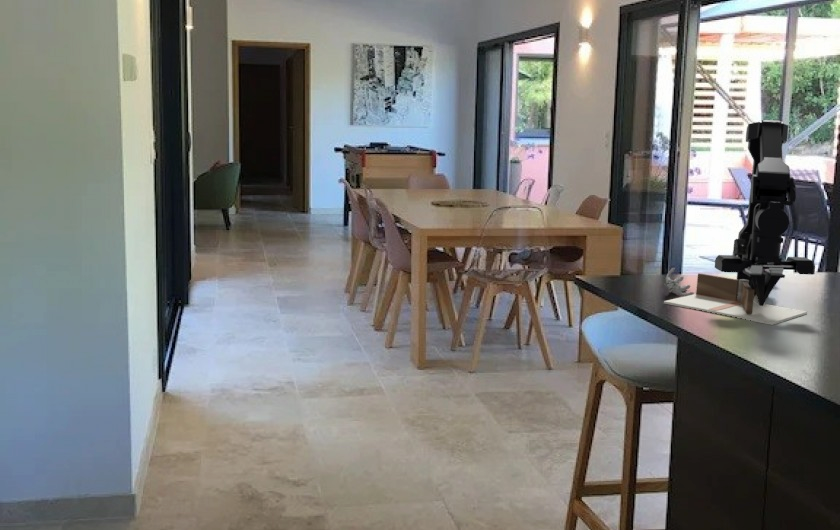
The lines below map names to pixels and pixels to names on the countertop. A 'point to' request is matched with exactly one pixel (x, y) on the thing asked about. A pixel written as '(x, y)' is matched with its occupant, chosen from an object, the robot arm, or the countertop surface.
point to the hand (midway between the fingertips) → (760, 305)
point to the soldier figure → (676, 285)
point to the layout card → (737, 309)
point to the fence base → (720, 287)
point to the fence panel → (747, 297)
